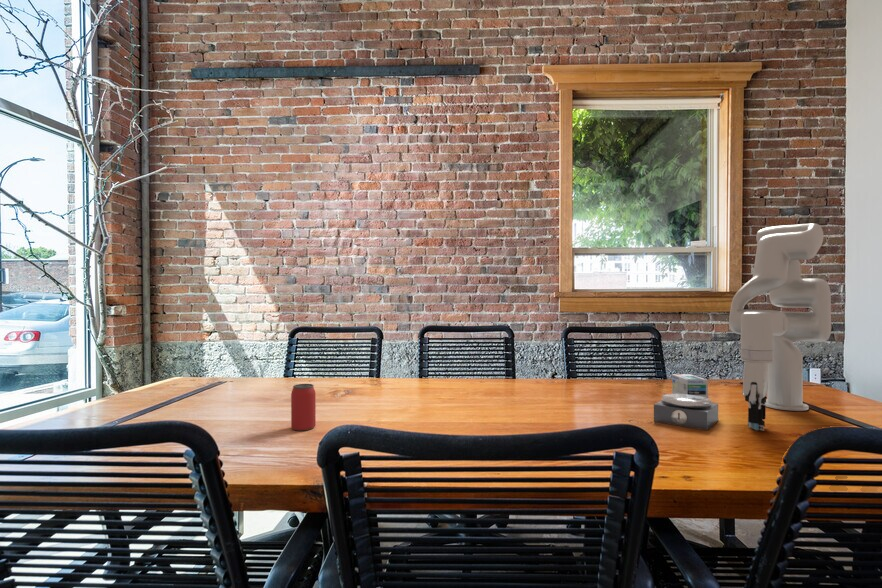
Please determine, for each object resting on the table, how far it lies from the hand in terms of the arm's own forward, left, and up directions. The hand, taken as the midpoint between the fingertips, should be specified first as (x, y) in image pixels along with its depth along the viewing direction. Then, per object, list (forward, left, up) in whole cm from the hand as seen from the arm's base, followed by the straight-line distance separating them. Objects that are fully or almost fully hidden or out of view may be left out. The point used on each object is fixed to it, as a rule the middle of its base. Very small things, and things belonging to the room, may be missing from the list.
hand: (756, 420), depth 131 cm
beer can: (+83, -96, -3) cm, 127 cm away
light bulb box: (-12, -20, -3) cm, 23 cm away
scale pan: (+4, -17, +3) cm, 18 cm away
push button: (+1, 0, -3) cm, 3 cm away
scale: (+4, -17, -2) cm, 18 cm away
